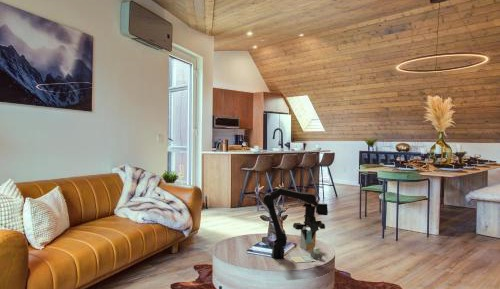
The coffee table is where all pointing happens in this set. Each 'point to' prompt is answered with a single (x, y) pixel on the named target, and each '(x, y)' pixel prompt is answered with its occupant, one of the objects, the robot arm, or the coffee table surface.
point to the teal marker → (308, 237)
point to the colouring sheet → (301, 259)
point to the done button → (316, 251)
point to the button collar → (316, 255)
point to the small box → (307, 246)
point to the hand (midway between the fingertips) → (308, 240)
